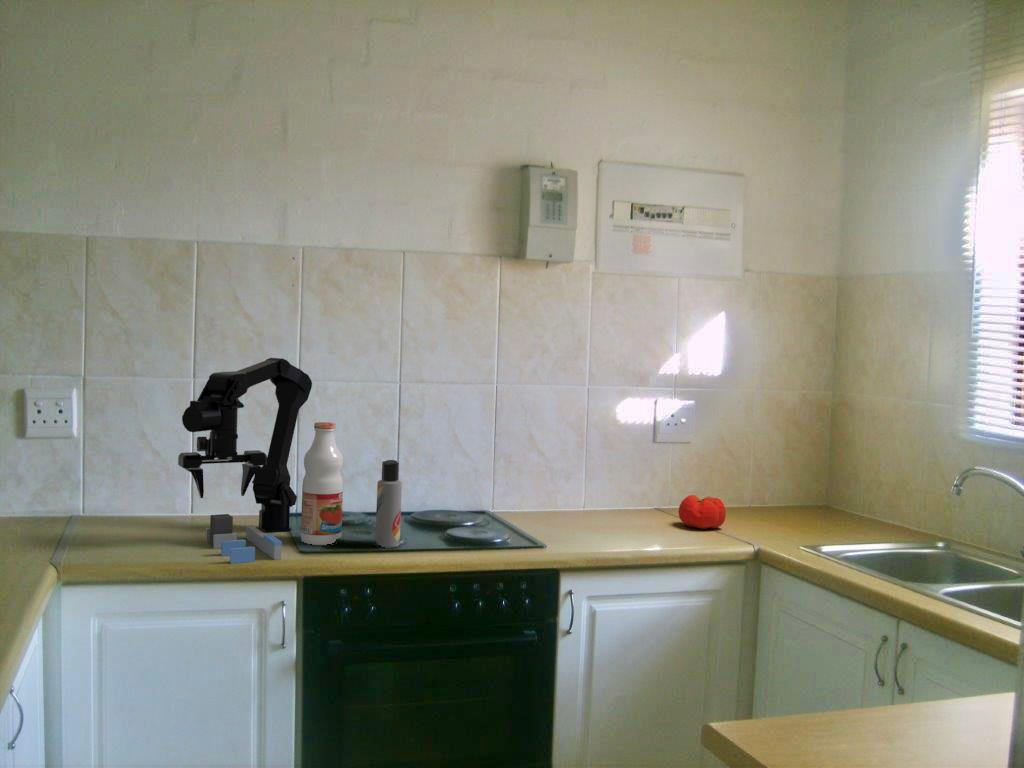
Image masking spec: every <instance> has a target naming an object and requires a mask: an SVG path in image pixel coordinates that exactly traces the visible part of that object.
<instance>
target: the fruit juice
mask: <svg viewBox="0 0 1024 768" xmlns="http://www.w3.org/2000/svg"><path fill="white" fill-rule="evenodd" d="M313 426H314V429H313V431H314V432H315V433H314V437H313V441H312V444H311V447H309V449H307V452H305V455H304V457H303V467H304V469H305V470H304V471H305V474H304V477H303V478H302V489H301V490H302V491H301V492H302V493H301V520H300V527H301V528H300V539H301V542H302V543H303V542H304V544H306V543H307V544H306V545H310V544H312V546H328V545H327V544H331V545H333V544H332V543H334V542H335V541H336V539H338V538H340V537H341V538H342V526H343V525H342V524H343V522H342V521H343V501H344V499H343V498H344V497H343V496H344V493H343V492H344V479H343V476H342V469H343V466H344V457H343V454H342V452H341V450H340V449H339V447H338V445H337V442H336V438H335V431H336V428H337V426H336V423H334V422H329V421H327V422H326V421H325V422H323V421H322V422H320V421H319V422H314V424H313Z"/></svg>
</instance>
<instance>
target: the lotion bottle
mask: <svg viewBox="0 0 1024 768" xmlns="http://www.w3.org/2000/svg"><path fill="white" fill-rule="evenodd" d="M381 463H382V464H381V480H378V481H377V486H376V488H377V489H376V490H377V491H376V515H375V538H374V539H375V541H376V542H377V543H378V544H379V545H381V546H382V547H381V548H383V547H385V549H386V548H387V549H390V548H393V549H394V548H398V547H399V546H400V537H401V521H402V520H401V516H402V494H403V493H402V492H403V490H402V488H403V487H402V486H403V483H402V481H401V480H399V472H400V471H399V467H400V465H399V462H398V461H397V460H396V459H387V460H384V461H382V462H381Z"/></svg>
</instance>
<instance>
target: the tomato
mask: <svg viewBox="0 0 1024 768" xmlns="http://www.w3.org/2000/svg"><path fill="white" fill-rule="evenodd" d="M726 512H727V511H726V506H725V504H724V502H723V501H722V500H721V498H719V497H712V496H706V497H704V498H700V497H698V496H697V495H694V494H690V495H687V496H686V497H685V498H684V499H683V500H682V501H681V502H680V504H679V506H678V517H679V519H680V521H681V522H682V523H683V524H684V525H686V526H688V527H690V528H696V529H697V528H698V529H701V530H704V529H705V530H706V529H708V528H710V529H712V530H714V529H716V528H719V527H721V526H722V525H723V524H724V522H725V521H726V516H727V514H726Z"/></svg>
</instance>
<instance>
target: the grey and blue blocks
mask: <svg viewBox="0 0 1024 768" xmlns="http://www.w3.org/2000/svg"><path fill="white" fill-rule="evenodd" d="M204 538H205V542H206V543H210V527H206V528H205V537H204ZM247 541H249V542H250V543H251V544H253V545H254V546H246V543H247ZM282 546H283V541H282V540H280V539H278V538H277V537H276V536H274V535H273V534H271V533H268V534H267V533H264V531H261V529H260V528H257V527H256V526H254V525H253V524H250V525H245V539H238V533H237V532H232V533H229V534H215V535H213V545H212V548H213V549H214V550H215V549H218V550H219V549H220V550H221V552H220V554H221V556H222V557H225V556H227V557H228V556H229V563H230V564H241V563H242V564H243V563H254V562H255V560H256V559H255V558H256V548H258V549H259V550H260V551H263V553H265V554H266V555H268V556H269V557H270V558H271V559H273V560H281V559H282Z"/></svg>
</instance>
